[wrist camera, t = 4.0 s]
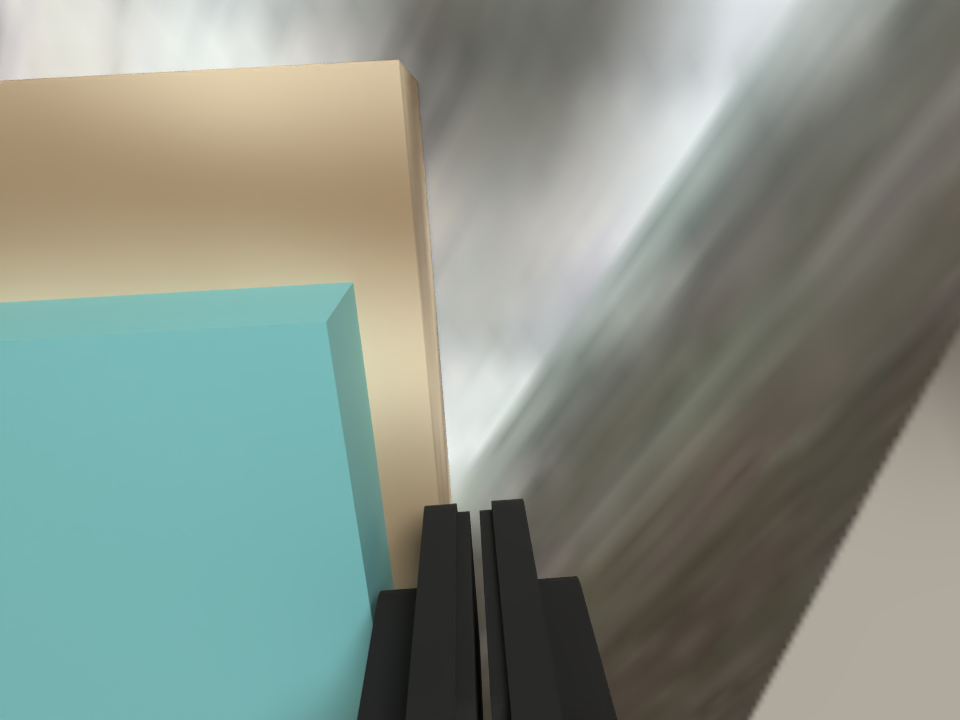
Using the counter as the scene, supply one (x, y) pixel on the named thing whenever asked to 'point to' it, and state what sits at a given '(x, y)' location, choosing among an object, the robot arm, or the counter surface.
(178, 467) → the teal sticky note pad
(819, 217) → the counter surface
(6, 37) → the counter surface
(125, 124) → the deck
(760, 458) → the counter surface
